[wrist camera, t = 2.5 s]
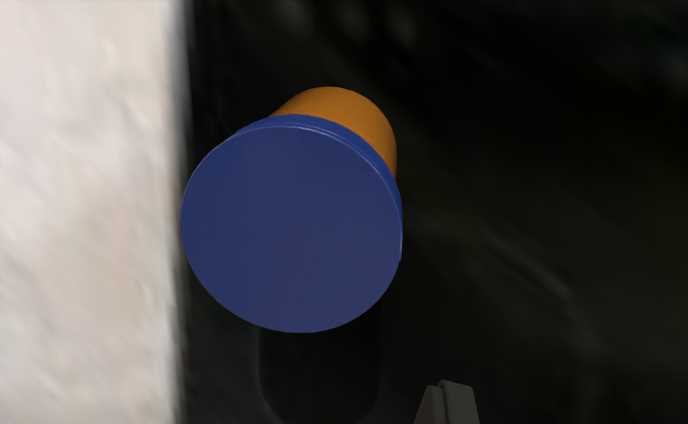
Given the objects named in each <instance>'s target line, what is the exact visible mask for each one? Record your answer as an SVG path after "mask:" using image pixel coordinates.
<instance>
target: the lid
mask: <svg viewBox="0 0 688 424" xmlns="http://www.w3.org/2000/svg"><path fill="white" fill-rule="evenodd" d="M180 227H181V237H182V241H183V246H184V250H185V253H186V255H187V258H188V261H189V263H190V265H191V267H192V269H193V271H194V273H195V274H196V276H197V277H198V279H199V280H200V282H201V283H202V285H203V286H204V287H205V288H206V290H207V291H208V292H209V293H210V294H211V295H212V296H213V297H214V298H215V299H216V300H217V301H218V302H219V303H220V304H221V305H223V306H224V307H226V308H227V309H228V310H230V311H231V312H232V313H234V314H236V315H237V316H239V317H241V318H243V319H244V320H247V321H249V322H251V323H253V324H256V325H259V326H262V327H265V328H268V329H272V330H277V331H282V332H292V333H310V332H317V331H324V330H327V329H331V328H335V327H338V326H340V325H343V324H345V323H348V322H349V321H351V320H353V319H355V318H357V317H358V316H360V315H361V314H363V313H364V312H365V311H367V310H368V309H369V308H370V307H371V306H372V305H374V304H375V303H376V302H377V301H378V300H379V299H380V297H381V296H382V295H383V293H384V292H385V291H386V289H387V288H388V286H389V284H390V283H391V281H392V279H393V277H394V275H395V272H396V270H397V267H398V264H399V260H401V249H402V204H401V199H400V194H399V190H398V188H397V185H396V182H395V179H394V177H393V175H392V173H391V171H390V169H389V167H388V166H387V165H386V163H385V162H384V160H383V159H382V157H381V156H380V155H379V154H378V153H377V151H376V150H375V149H374V148H373V147H372V146H371V145H370V144H369V143H368V142H366V141H365V140H364V139H363V138H362V137H360V136H359V135H357V134H356V133H354V132H353V131H351V130H350V129H348V128H346V127H344V126H342V125H340V124H338V123H336V122H333V121H330V120H327V119H324V118H321V117H315V116H310V115H299V114H288V115H277V116H273V117H268V118H264V119H261V120H259V121H256V122H253V123H251V124H249V125H247V126H245V127H244V128H242V129H240V130H239V131H237V132H236V133H235V134H233V135H232V136H231V137H229V138H228V139H227V140H225V141H224V142H223V143H221V144H220V145H219V146H217V147H216V148H215V149H213V150H212V151H211V152H210V153H209V154H208V155H207V156H206V157H205V158H204V159H203V160H202V161H201V163H200V164H199V165H198V167H197V168H196V169H195V171H194V173H193V174H192V176H191V178H190V180H189V182H188V184H187V187H186V190H185V193H184V196H183V200H182V205H181V215H180Z"/></svg>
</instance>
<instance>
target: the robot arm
mask: <svg viewBox="0 0 688 424" xmlns="http://www.w3.org/2000/svg"><path fill="white" fill-rule="evenodd" d="M414 424H480V423H479V418H478V413H477V408H476V403H475V398H474V393H473V390H472V388H471V387H469V386H465V385H461V384H457V383H453V382H449V381H445V380H440V382H439V383H438V385H437V387H436V386H433V385H428V387H427V389H426V391H425V394H424V397H423V399H422V402H421V405H420V408H419V410H418V413H417V416H416V418H415V421H414Z"/></svg>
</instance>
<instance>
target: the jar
mask: <svg viewBox="0 0 688 424" xmlns="http://www.w3.org/2000/svg"><path fill="white" fill-rule="evenodd" d="M288 114H299V115H310V116H315V117H321V118H324V119H327V120H330V121H333V122H336V123H338V124H340V125H342V126H344V127H346V128H348V129H350V130H351V131H353V132H354V133H356V134H357V135H359V136H360V137H362V138H363V139H364V140H365V141H366V142H368V143H369V144H370V145H371V146H372V147H373V148H374V149H375V150H376V151H377V153H378V154H379V155H380V156H381V157H382V159H383V160H384V162H385V163H386V165H387V166H388V167H389V169H390V171H391V173H392V175H393V177H394V179H395V182H396V163H397V148H396V141H395V137H394V134H393V131H392V128H391V126H390V124H389V122H388V120H387V119H386V117H385V116H384V114H383V113H382V112H381V111H380V110H379V109H378V107H377V106H375V105H374V104H373V103H372V102H371V101H370V100H368V99H366V98H365V97H363V96H362V95H360V94H358V93H356V92H353V91H350V90H347V89H343V88H338V87H319V88H314V89H310V90H307V91H304V92H302V93H300V94H298V95H296V96H294V97H293V98H291V99H290V100H289V101H287V102H286V103H285V104H284V105H282V106H281V107H280V108H279V109H277V110H276V111H275V112H274V113H273V114H271V115H270V116H269V117H273V116H277V115H288Z"/></svg>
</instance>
